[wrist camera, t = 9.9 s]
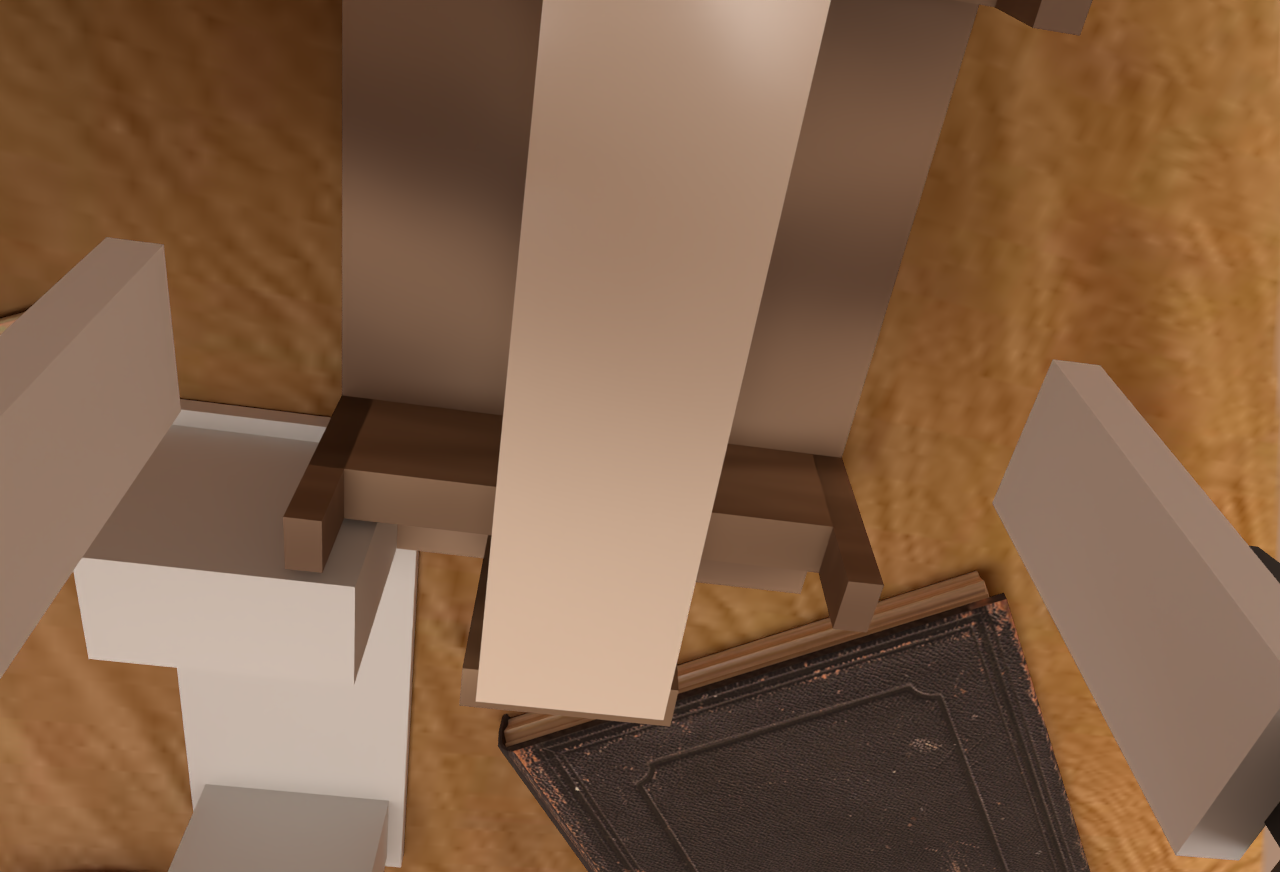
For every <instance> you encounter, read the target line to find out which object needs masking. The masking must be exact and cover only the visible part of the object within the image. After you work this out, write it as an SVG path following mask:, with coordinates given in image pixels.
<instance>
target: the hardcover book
mask: <svg viewBox="0 0 1280 872" xmlns="http://www.w3.org/2000/svg"><path fill="white" fill-rule="evenodd" d="M677 671H678V688H679V691H678V695H677V700H676V704H675V708H674V712H673V716H672V721H671V725H670V726H660V725H650V724H640V723H630V722H620V721H610V720H600V719H589V718H579V717H569V716H559V715H549V714H539V713H526V714H523V715H520V716H516V717H513V718H510V717H509V716H508V714H505V715H504V716H503V717H502V721H501V725H500V729H499V738H498V747H499V748H500V750H501V751H502V753H503V754H504V756H505V757H506V758H507V760H508V761H509V763H510V764H511V765H512V767H513V768H514V769H515V771H516V772H517V774H518V775H519V776H520V778H521V779H522V781H523V782H524V783H525V785H526V786H527V787H528V789H529V790H530V792H531V793H532V794H533V796H534V797H535V799H536V800H537V801H538V803H539V804H540V805H541V807H542V808H543V810H544V811H545V812H546V814H547V815H548V816H549V818H550V819H551V821H552V822H553V823H554V825H555V826H556V828H557V829H558V830H559V832H560V833H561V834H562V836H563V837H564V839H565V840H566V841H567V843H568V844H569V846H570V847H571V848H572V850H573V851H574V852H575V854H576V855H577V857H578V858H579V859H580V861H581V862H582V864H583V865H584V866H585V868H586V869H587V870H588V872H1090V869H1089V866H1088V863H1087V859H1086V856H1085V853H1084V850H1083V846H1082V843H1081V840H1080V837H1079V833H1078V830H1077V827H1076V824H1075V820H1074V817H1073V814H1072V810H1071V807H1070V804H1069V801H1068V797H1067V794H1066V791H1065V788H1064V784H1063V781H1062V778H1061V775H1060V771H1059V768H1058V765H1057V762H1056V758H1055V755H1054V752H1053V749H1052V745H1051V742H1050V739H1049V736H1048V732H1047V729H1046V726H1045V722H1044V719H1043V716H1042V713H1041V709H1040V706H1039V703H1038V700H1037V696H1036V693H1035V690H1034V687H1033V683H1032V680H1031V677H1030V674H1029V670H1028V667H1027V664H1026V661H1025V657H1024V654H1023V651H1022V648H1021V644H1020V641H1019V638H1018V634H1017V631H1016V628H1015V625H1014V621H1013V618H1012V615H1011V612H1010V608H1009V605H1008V602H1007V599H1006V597H1005V595H1004V593H1002V594H998V595H995V596H992V597H989V594H988V591H987V588H986V585H985V582H984V580H983V579H981V578H980V576H979V574H978V572H977V571H974V572H970V573H967V574H964V575H961V576H958V577H955V578H952V579H948V580H945V581H942V582H939V583H936V584H933V585H929V586H926V587H923V588H920V589H917V590H914V591H911V592H907V593H904V594H901V595H898V596H895V597H892V598H888V599H885V600H882V601H879V602H878V603H877V606H876V609H875V612H874V614H873V617H872V620H871V623H870V626H869V628H868V631H867V633H866V632H857V631H848V630H839V629H833V628H832V624H831V620H830V617H829V618H825V619H822V620H819V621H816V622H813V623H810V624H806V625H803V626H800V627H797V628H794V629H791V630H788V631H784V632H781V633H778V634H775V635H772V636H769V637H765V638H762V639H759V640H756V641H753V642H750V643H747V644H743V645H740V646H737V647H734V648H731V649H728V650H724V651H721V652H718V653H715V654H712V655H709V656H706V657H702V658H699V659H696V660H693V661H690V662H687V663H683V664H680V665H677Z"/></svg>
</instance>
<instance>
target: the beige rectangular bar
mask: <svg viewBox="0 0 1280 872" xmlns="http://www.w3.org/2000/svg"><path fill="white" fill-rule="evenodd" d="M830 2H831V0H543V5H542V16H541V26H540V37H539V47H538V58H537V68H536V78H535V89H534V99H533V110H532V120H531V130H530V141H529V151H528V162H527V172H526V183H525V193H524V203H523V214H522V224H521V235H520V245H519V256H518V266H517V276H516V287H515V297H514V308H513V318H512V328H511V339H510V349H509V360H508V370H507V381H506V391H505V401H504V412H503V422H502V433H501V443H500V453H499V464H498V474H497V485H496V495H495V506H494V516H493V526H492V537H491V547H490V558H489V568H488V579H487V589H486V599H485V610H484V620H483V631H482V641H481V651H480V662H479V672H478V683H477V693H476V702H486V703H496V704H506V705H516V706H526V707H536V708H546V709H556V710H566V711H576V712H586V713H596V714H606V715H616V716H626V717H636V718H646V719H656V720H664V716H665V711H666V707H667V703H668V698H669V694H670V690H671V685H672V681H673V677H674V673H675V668H676V664H677V660H678V655H679V651H680V647H681V642H682V638H683V634H684V630H685V625H686V621H687V617H688V612H689V608H690V604H691V599H692V595H693V591H694V587H695V582H696V578H697V574H698V569H699V565H700V561H701V556H702V552H703V548H704V544H705V539H706V535H707V531H708V526H709V522H710V518H711V513H712V509H713V505H714V501H715V496H716V492H717V488H718V483H719V479H720V475H721V470H722V466H723V462H724V457H725V453H726V449H727V445H728V440H729V436H730V432H731V427H732V423H733V419H734V414H735V410H736V406H737V402H738V397H739V393H740V389H741V384H742V380H743V376H744V371H745V367H746V363H747V359H748V354H749V350H750V346H751V341H752V337H753V333H754V328H755V324H756V320H757V316H758V311H759V307H760V303H761V298H762V294H763V290H764V285H765V281H766V277H767V273H768V268H769V264H770V260H771V255H772V251H773V247H774V242H775V238H776V234H777V230H778V225H779V221H780V217H781V212H782V208H783V204H784V199H785V195H786V191H787V187H788V182H789V178H790V174H791V169H792V165H793V161H794V156H795V152H796V148H797V143H798V139H799V135H800V131H801V126H802V122H803V118H804V113H805V109H806V105H807V100H808V96H809V92H810V88H811V83H812V79H813V75H814V70H815V66H816V62H817V57H818V53H819V49H820V45H821V40H822V36H823V32H824V27H825V23H826V19H827V14H828V10H829V6H830Z"/></svg>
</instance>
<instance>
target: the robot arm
mask: <svg viewBox="0 0 1280 872" xmlns="http://www.w3.org/2000/svg"><path fill="white" fill-rule="evenodd" d="M180 412H181V406H180V396H179V387H178V377H177V368H176V358H175V349H174V339H173V330H172V320H171V310H170V301H169V291H168V282H167V272H166V263H165V253H164V245H163V244H156V243H148V242H140V241H132V240H125V239H117V238H109V237H106V238H105V239H104V240H103V241H102V242H101V243H100V244H99V245H98V246H96V247H95V248H94V249H93V250H92V251H91V252H90V253H89V254H88V255H87V256H86V257H84V258H83V259H82V260H81V261H80V262H79V263H78V264H77V265H76V266H75V267H74V268H72V269H71V270H70V271H69V272H68V273H67V274H66V275H65V276H64V277H63V278H62V279H61V280H59V281H58V282H57V283H56V284H55V285H54V286H53V287H52V288H51V289H50V290H49V291H47V292H46V293H45V294H44V295H43V296H42V297H41V298H40V299H39V300H38V301H37V302H35V303H34V304H33V305H32V306H31V307H30V308H29V309H28V310H27V311H26V312H25V313H24V314H22V315H21V316H20V317H19V318H18V319H17V320H16V321H15V322H14V323H13V324H12V325H10V326H9V327H8V328H7V329H6V330H5V331H4V332H3V333H2V334H1V335H0V678H1V677H2V676H3V674H4V673H5V671H6V670H7V668H8V667H9V665H10V664H11V662H12V661H13V659H14V658H15V656H16V655H17V653H18V652H19V650H20V649H21V647H22V646H23V644H24V643H25V641H26V640H27V638H28V637H29V636H30V634H31V633H32V631H33V630H34V628H35V627H36V625H37V624H38V622H39V621H40V619H41V618H42V616H43V615H44V613H45V612H46V610H47V609H48V607H49V606H50V604H51V603H52V601H53V600H54V598H55V597H56V596H57V594H58V593H59V591H60V590H61V588H62V587H63V585H64V584H65V582H66V581H67V579H68V578H69V576H70V575H71V573H72V572H73V570H74V569H75V567H76V566H77V564H78V563H79V561H80V560H81V558H82V557H83V556H84V554H85V553H86V551H87V550H88V548H89V547H90V545H91V544H92V542H93V541H94V539H95V538H96V536H97V535H98V533H99V532H100V530H101V529H102V527H103V526H104V524H105V523H106V521H107V520H108V519H109V517H110V516H111V514H112V513H113V511H114V510H115V508H116V507H117V505H118V504H119V502H120V501H121V499H122V498H123V496H124V495H125V493H126V492H127V490H128V489H129V487H130V486H131V484H132V483H133V481H134V480H135V479H136V477H137V476H138V474H139V473H140V471H141V470H142V468H143V467H144V465H145V464H146V462H147V461H148V459H149V458H150V456H151V455H152V453H153V452H154V450H155V449H156V447H157V446H158V444H159V443H160V441H161V440H162V439H163V437H164V436H165V434H166V433H167V431H168V430H169V428H170V427H171V425H172V424H173V422H174V421H175V419H176V418H177V416H178V415H179V413H180ZM993 505H994V507H995V509H996V511H997V513H998V515H999V517H1000V519H1001V521H1002V523H1003V524H1004V526H1005V528H1006V530H1007V532H1008V534H1009V536H1010V538H1011V540H1012V542H1013V544H1014V546H1015V548H1016V549H1017V551H1018V553H1019V555H1020V557H1021V559H1022V561H1023V563H1024V565H1025V567H1026V569H1027V571H1028V572H1029V574H1030V576H1031V578H1032V580H1033V582H1034V584H1035V586H1036V588H1037V590H1038V592H1039V594H1040V596H1041V597H1042V599H1043V601H1044V603H1045V605H1046V607H1047V609H1048V611H1049V613H1050V615H1051V617H1052V619H1053V620H1054V622H1055V624H1056V626H1057V628H1058V630H1059V632H1060V634H1061V636H1062V638H1063V640H1064V642H1065V644H1066V645H1067V647H1068V649H1069V651H1070V653H1071V655H1072V657H1073V659H1074V661H1075V663H1076V665H1077V667H1078V668H1079V670H1080V672H1081V674H1082V676H1083V678H1084V680H1085V682H1086V684H1087V686H1088V688H1089V690H1090V692H1091V693H1092V695H1093V697H1094V699H1095V701H1096V703H1097V705H1098V707H1099V709H1100V711H1101V713H1102V715H1103V717H1104V718H1105V720H1106V722H1107V724H1108V726H1109V728H1110V730H1111V732H1112V734H1113V736H1114V738H1115V740H1116V741H1117V743H1118V745H1119V747H1120V749H1121V751H1122V753H1123V755H1124V757H1125V759H1126V761H1127V763H1128V765H1129V766H1130V768H1131V770H1132V772H1133V774H1134V776H1135V778H1136V780H1137V782H1138V784H1139V786H1140V788H1141V789H1142V791H1143V793H1144V795H1145V797H1146V799H1147V801H1148V803H1149V805H1150V807H1151V809H1152V811H1153V813H1154V814H1155V816H1156V818H1157V820H1158V822H1159V824H1160V826H1161V828H1162V830H1163V832H1164V834H1165V836H1166V838H1167V839H1168V841H1169V843H1170V845H1171V847H1172V849H1173V851H1174V853H1175V855H1177V856H1190V857H1203V858H1215V859H1228V860H1240V858H1241V857H1242V856H1243V854H1244V853H1245V852H1246V850H1247V849H1248V848H1249V846H1250V845H1251V844H1252V842H1253V841H1254V840H1255V839H1256V837H1257V836H1258V835H1259V833H1260V832H1261V831H1262V829H1263V828H1264V827H1265V825H1266V826H1267V828H1268V829H1269V831H1270V832H1271V834H1272V836H1273V837H1274V839H1275V841H1276V842H1277V844H1278V845H1279V847H1280V563H1279V562H1278V561H1276V560H1275V559H1274V558H1272V557H1271V556H1270V555H1268V554H1267V553H1266V552H1264V551H1263V550H1262V549H1260V548H1259V547H1255V546H1248V544H1247V543H1246V542H1245V541H1244V540H1243V538H1242V537H1241V536H1240V535H1239V534H1238V532H1237V531H1236V530H1235V529H1234V527H1233V526H1232V525H1231V524H1230V523H1229V521H1228V520H1227V519H1226V518H1225V517H1224V515H1223V514H1222V513H1221V512H1220V510H1219V509H1218V508H1217V507H1216V506H1215V504H1214V503H1213V502H1212V501H1211V500H1210V498H1209V497H1208V496H1207V495H1206V493H1205V492H1204V491H1203V490H1202V489H1201V487H1200V486H1199V485H1198V484H1197V483H1196V481H1195V480H1194V479H1193V478H1192V476H1191V475H1190V474H1189V473H1188V472H1187V470H1186V469H1185V468H1184V467H1183V466H1182V464H1181V463H1180V462H1179V461H1178V459H1177V458H1176V457H1175V456H1174V455H1173V453H1172V452H1171V451H1170V450H1169V449H1168V447H1167V446H1166V445H1165V444H1164V442H1163V441H1162V440H1161V439H1160V438H1159V436H1158V435H1157V434H1156V433H1155V432H1154V430H1153V429H1152V428H1151V427H1150V425H1149V424H1148V423H1147V422H1146V421H1145V419H1144V418H1143V417H1142V416H1141V414H1140V413H1139V412H1138V411H1137V410H1136V408H1135V407H1134V406H1133V405H1132V404H1131V402H1130V401H1129V400H1128V399H1127V397H1126V396H1125V395H1124V394H1123V393H1122V391H1121V390H1120V389H1119V388H1118V387H1117V385H1116V384H1115V383H1114V382H1113V380H1112V379H1111V378H1110V377H1109V376H1108V374H1107V373H1106V372H1105V371H1104V370H1103V368H1102V367H1101V366H1100V365H1093V364H1085V363H1077V362H1069V361H1062V360H1054V359H1053V360H1052V363H1051V365H1050V367H1049V370H1048V372H1047V375H1046V377H1045V379H1044V382H1043V384H1042V386H1041V389H1040V391H1039V394H1038V396H1037V398H1036V401H1035V403H1034V405H1033V408H1032V410H1031V413H1030V415H1029V417H1028V420H1027V422H1026V424H1025V427H1024V429H1023V432H1022V434H1021V436H1020V439H1019V441H1018V443H1017V446H1016V448H1015V450H1014V453H1013V455H1012V458H1011V460H1010V462H1009V465H1008V467H1007V469H1006V472H1005V474H1004V477H1003V479H1002V481H1001V484H1000V486H999V488H998V491H997V493H996V496H995V498H994V500H993ZM1271 872H1280V861H1279V862H1278V863H1277V865H1276V866H1275V867H1274V868H1273V870H1272V871H1271Z"/></svg>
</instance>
